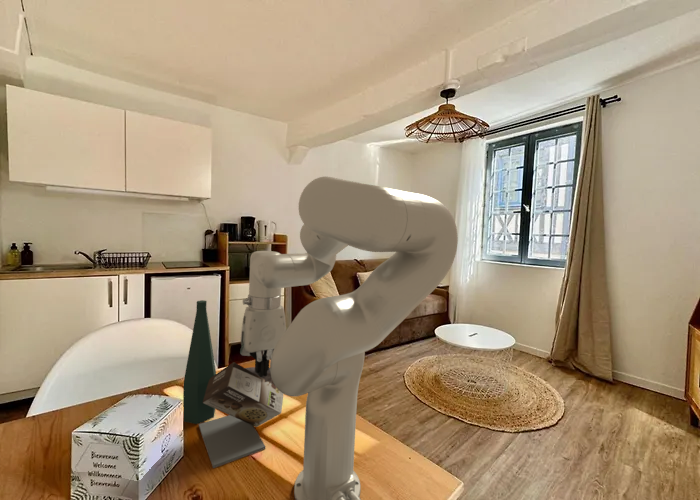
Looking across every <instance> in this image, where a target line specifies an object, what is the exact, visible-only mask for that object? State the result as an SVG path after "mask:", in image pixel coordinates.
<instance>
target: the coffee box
mask: <svg viewBox="0 0 700 500" xmlns="http://www.w3.org/2000/svg"><path fill="white" fill-rule="evenodd" d="M245 368H246V367H243V366H242V365H240V364H238V363H237V362H231V363H230V364H229V365H227V366H226V367H225V368H223V369H221V370H220V371H218V372H216V375H214V376H213V377H211V378H210V379H209V382H208V385H207V388H206V392H205V396H204V399H203V402H202V403H204V404H206V405H209V406H211V407H213V408H215V410H218V411H219V412H222V413H224V414H226V415H231V416H233V417H235V418H237V419H240V420H242V421H244V422H246V423H248V424H251V425H253V426H254V428H257V427H259V426H261V425H263V424H265V423H266V422H268V421H270V420H272V419H273V418H275V417H277V416H279V415H281V414H282V411H283V410H282V409H283V403H284V394H283V393H282V392H280V391H279V390H278V389H277V387H276V386H275V385H273V384H271V383H270V382H268V381H266V380H264V379H263V378H261V377H259V376H257V375H256V374H254V373H252V372H250V371H249V370H247V369H245Z"/></svg>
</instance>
